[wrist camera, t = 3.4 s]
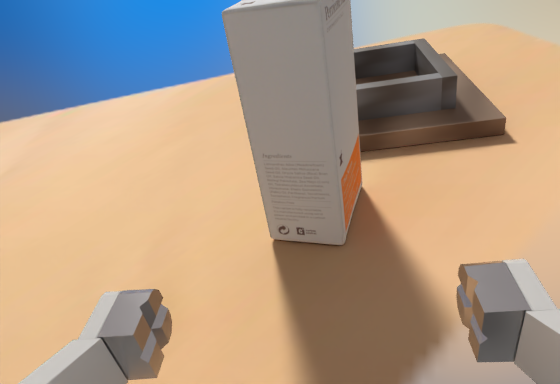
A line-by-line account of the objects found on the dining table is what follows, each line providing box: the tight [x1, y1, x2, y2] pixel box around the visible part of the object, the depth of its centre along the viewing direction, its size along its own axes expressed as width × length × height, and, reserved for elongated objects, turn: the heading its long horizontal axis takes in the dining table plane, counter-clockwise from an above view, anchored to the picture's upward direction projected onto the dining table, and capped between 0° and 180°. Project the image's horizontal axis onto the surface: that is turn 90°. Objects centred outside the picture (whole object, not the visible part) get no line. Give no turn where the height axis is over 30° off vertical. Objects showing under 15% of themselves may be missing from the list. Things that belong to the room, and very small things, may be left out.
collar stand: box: [354, 39, 506, 151], centre depth 35 cm, size 15×15×4 cm
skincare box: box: [222, 0, 362, 245], centre depth 21 cm, size 6×4×12 cm
